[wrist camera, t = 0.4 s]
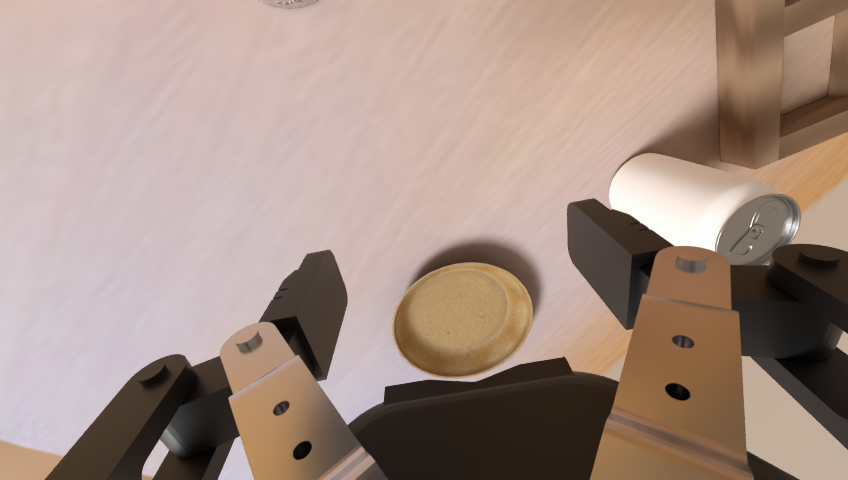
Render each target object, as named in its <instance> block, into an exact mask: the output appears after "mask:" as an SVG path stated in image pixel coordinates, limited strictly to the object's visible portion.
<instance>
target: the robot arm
mask: <svg viewBox="0 0 848 480" xmlns="http://www.w3.org/2000/svg"><path fill="white" fill-rule="evenodd" d="M259 1H262V2H264V3H267V4H269V5H272V6H275V7H281V8H287V9H289V8H301V7H304V6H307V5H310V4H313V3H315V2H317V1H318V0H259ZM567 230H568V251H569V255H570V258H571V260H572V262H573V264H574V265H575V266H576V268H577V269H578V270H579V271H580V273H581V274H582V275H583V276H584V278H585V279H586V280H587V281H588V283H589V284H590V285H591V286H592V288H593V289H594V290H595V291H596V293H597V294H598V295H599V296H600V298H601V299H602V300H603V302H604V303H605V304H606V305H607V307H608V308H609V309H610V310H611V312H612V313H613V314H614V315H615V317H616V318H617V319H618V320H619V322H620V323H621V324H622V325H623V327H624V328H625V329H626V330H629V329H633V332H632V335H631V339H630V343H629V347H628V351H627V354H626V358H625V362H624V366H623V370H622V373H621V377H620V381H619V382H618V381H615V380H613V379H610V378H607V377H604V376H600V375H596V374H591V373H585V372H576V371H572V369H571V367H570V366H569V364H568V362H567V360H566V358H565V357H562V358H556V359H550V360H544V361H538V362H532V363H526V364H520V365H517V366H515V367H512V368H510V369H507V370H505V371H502V372H500V373H497V374H495V375H492V376H490V377H487V378H485V379H482V380H480V381H476V382H461V381H443V380H423V381H417V382H411V383H405V384H399V385H393V386H387V387H385V394H384V402H383V403H380V404H378V405H376V406H374V407H372V408H370V409H369V410H367V411H365V412H364V413H362V414H361V415H359V416H358V417H357V418H356V419H354V420H353V421H352V422H351V423H350V424H349V425H348V426H347V424H346V423H345V421H344V420H343V418H342V417H341V416H340V414H339V413H338V411H337V410H336V408H335V407H334V405H333V404H332V403H331V401H330V400H329V398H328V397H327V395H326V394H325V393H324V391H323V390H322V388H321V387H320V385H319V384H318V382H317V381H321V380H326V379H327V375H328V371H329V368H330V364H331V361H332V357H333V354H334V350H335V346H336V343H337V339H338V336H339V332H340V328H341V325H342V321H343V318H344V314H345V311H346V307H347V300H348V299H347V291H346V287H345V284H344V282H343V279H342V276H341V274H340V271H339V268H338V265H337V263H336V260H335V257H334V255H333V253H332V252H331V251H330V250H325V251H320V252H315V253H310V254H307V255H306V257H305V258H304V260H303V262H302V264H301V266H300V267H299V269H298V270H295V271H294V272H293V273H291V274H290V275H289V276H288V277H287V278H286V279H285V280H284V281H283V282H282V284H281V286H280V287H279V289H278V292H276V294H275V296H274V297H273V300H272V301H271V302H270V304H269V306H268V307H267V309H266V311H265V312H264V314H263V316H262V317H261V319H260V321H259V322H258V323H255V324H252V325H250V326H247V327H245V328H243V329H241V330H240V331H238V332H236V333H235V334H234V335H232V336H231V337H230V338H229V339H228V340H227V341H226V342H225V343H224V345H223V346H222V348H221V350H220V356H218V357H216V358H213V359H211V360H208V361H206V362H203V363H200V364H198V365H195V366H193V367H192V366H191V364H190V363H189V362H188V360H187V359H186V357H185V356H183V355H180V354H175V355H169V356H166V357H163V358H161V359H158V360H156V361H154V362H152V363H150V364H149V365H147V366H146V367H144V368H143V369H141V370H140V371H139V372H137V373H136V374H135V375H134V376H133V377H132V378H131V379H130V380H129V381H128V382H127V383H126V384H125V385H124V386H123V388H122V389H121V390H120V391H119V392H118V394H117V395H116V396H115V397H114V398H113V399H112V401H111V402H110V403H109V404H108V405H107V407H106V408H105V409H104V410H103V411H102V412H101V414H100V415H99V416H98V417H97V418H96V420H95V421H94V422H93V423H92V424H91V425H90V427H89V428H88V429H87V430H86V431H85V433H84V434H83V435H82V436H81V437H80V438H79V440H78V441H77V442H76V443H75V444H74V446H73V447H72V448H71V449H70V450H69V452H68V453H67V454H66V455H65V456H64V457H63V459H62V460H61V461H60V462H59V464H58V465H57V466H56V467H55V468H54V469H53V471H52V472H51V473H50V474H49V475H48V476H47V478H46V479H45V480H142V478H141V477H142V469H143V466H144V464H145V461H146V460H147V458H148V456H149V455H150V453H151V452H152V450H153V448H154V447H155V445H156V444H157V442H158V440H159V439H160V440H161V441H162V442H163V443H164V444H165V446H166V447H167V448H168V449H169V452H168V454H167V455H166V457H165V459H164V461H163V462H162V464H161V466H160V467H159V469H158V471H157V473H156V474H155V476H154V478H153V479H152V480H218V477H219V475H220V473H221V470H222V468H223V465H224V463H225V461H226V458H227V456H228V454H229V451H230V449H231V447H232V444H233V442H234V439H235V438H237V437H239V436H240V437H241V440H242V443H243V446H244V449H245V452H246V455H247V458H248V462H249V465H250V468H251V471H252V474H253V477H254V480H799V479H797V478H795V477H794V476H792V475H790V474H788V473H786V472H785V471H783V470H780V469H779V468H777V467H775V466H774V465H772V464H770V463H768V462H766V461H764V460H763V459H761V458H759V457H757V456H755V455H753V454H752V453H750V452H748V451H746V434H745V415H744V398H743V397H744V396H743V379H742V359H741V356H751V358H752V359H753V360H754V361H755V362H756V363H757V364H758V365H759V366H761V368H762V369H764V370H765V371H766V372H767V373H768V374H769V375H770V376H771V377H772V378H773V379H774V380H775V381H776V382H777V383H778V384H779V385H780V386H781V387H782V388H784V389H785V390H786V391H787V392H788V393H789V394H790V395H791V396H792V397H793V398H794V399H795V400H796V401H797V402H798V403H799V404H800V405H802V407H803V408H805V409H806V410H807V411H808V412H809V413H810V414H811V415H812V416H813V417H814V418H815V419H816V420H817V421H818V422H819V423H820V424H821V425H822V426H823V427H824V428H826V429H827V430H828V431H829V432H830V433H831V434H832V435H833V436H834V437H835V438H836V439H837V440H838V441H839V442H840V443H841V444H842V445H843V446H844V447H845V448H846V449H848V355H847V354H846V353H844V352H843V351H841V350H840V349H839V348H837V347H836V346H837V344H838V341H839V339H840V337H841V335H842V332H843V331H845V332H846V333H847V334H848V252H846V251H843V250H840V249H836V248H832V247H827V246H821V245H812V244H790V245H784V246H781V247H778V248H776V249H775V250H774V251H773V253H772V256H771V259H770V263H769V265H730V263H729V261H728V260H727V259H726V258H725V257H724V256H722V255H721V254H719V253H717V252H715V251H712V250H709V249H706V248H701V247H695V246H674V245H673V244H671V243H670V242H668V241H667V240H666V239H664V238H663V237H661V236H660V235H658V234H657V233H656V232H654V231H653V230H649V228H648V227H647V226H646V225H644V224H643V223H640V221H638V220H637V219H635V218H634V217H633V216H631V215H630V214H627V213H624V212H621V211H617V210H614V209H613V210H610V209H608V208H607V207H606V206H604V205H603V204H602V203H600V202H599V201H597V200H596V199H594V198H592V199H587V200H582V201H577V202H572V203H569V205H568V208H567Z"/></svg>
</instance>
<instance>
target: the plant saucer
mask: <svg viewBox="0 0 848 480" xmlns="http://www.w3.org/2000/svg"><path fill="white" fill-rule="evenodd" d="M532 321H533V306H532V301H531V298H530V295H529V293H528V291H527V289H526V288H525V286H524V285H523V284H522V282H520V280H519V279H518V278H516V277H515V276H514V275H513V274H511V273H510V272H508V271H506V270H504V269H502V268H500V267H497V266H494V265H491V264H486V263H480V262H464V263H456V264H452V265H448V266H445V267H442V268H439V269H437V270H434V271H432V272H430V273H428V274H426V275H425V276H423V277H422V278H420V279H419V280H418V281H416V282H415V283H414V284H413V285H412V286H411V287H410V288H409V289H408V290H407V291H406V292H405V294H404V295H403V296H402V298H401V299H400V301H399V303H398V305H397V307H396V309H395V312H394V315H393V319H392V336H393V340H394V343H395V346H396V348H397V350H398V352H399V353H400V355H401V356H402V358H403V359H404V360H405V361H407V363H409V364H410V365H411V366H412V367H414V368H416V369H417V370H419V371H421V372H423V373H425V374H428V375H432V376H435V377H439V378H447V379H450V378H451V379H458V378H467V377H472V376H476V375H480V374H483V373H485V372H488V371H490V370H493V369H495V368H496V367H498V366H500V365H502V364H503V363H504V362H506V361H507V360H508V359H510V358H511V357H512V356H513V355H514V354H515V353H516V352H517V351H518V350H519V349H520V347H521V346H522V345H523V343H524V341H525V340H526V338H527V336H528V334H529V332H530V329H531V325H532Z"/></svg>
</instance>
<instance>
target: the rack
mask: <svg viewBox="0 0 848 480" xmlns="http://www.w3.org/2000/svg"><path fill="white" fill-rule="evenodd" d="M715 11H716V41H717V70H718V99H719V128H720V158H721V161H722V162H726V163H730V164H734V165H739V166H743V167H747V168H751V169H755V170H756V169H758V168H761V167H763V166H765V165H768V164H770V163H773V162H775V161H778V160H780V159H783V158H785V157H787V156H790V155H792V154H795V153H797V152H800V151H802V150H804V149H807V148H809V147H812V146H814V145H817V144H819V143H822V142H824V141H826V140H829V139H831V138H834V137H836V136H839V135H841V134H843V133H846V132H848V0H715ZM835 14H836V17H835V27H834V37H833V48H832V58H831V68H830V78H829V89H828V96H827V97H825V98H823V99H820V100H818V101H815V102H813V103H811V104H808V105H806V106H803V107H801V108H799V109H796V110H794V111H792V112H789V113H787V114H784V115H782V116H780V112H781V88H782V64H783V40H784V37H785V36H787V35H790V34H792V33H794V32H796V31H799V30H801V29H803V28H806V27H808V26H810V25H812V24H815V23H817V22H819V21H822V20H824V19H826V18H828V17H831V16H833V15H835Z"/></svg>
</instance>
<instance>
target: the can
mask: <svg viewBox="0 0 848 480" xmlns="http://www.w3.org/2000/svg"><path fill="white" fill-rule="evenodd" d="M609 200H610V204H611V206H612V208H613V209H614V210H617V211H621V212H624V213H627V214H630V215H631V216H633V217H634V218H635V219H637V220H638V221H640V223H643V224H644V225H646V226H647V227H648V228H649V230H653V231H654V232H656V233H657V234H658V235H660V236H661V237H663V238H664V239H666V240H667V241H668V242H670V243H671V244H673V245H674V246H695V247H701V248H706V249H709V250H712V251H715V252H717V253H719V254H721V255H722V256H724V257H725V258H726V259H727V260H728V261H729V263H730V265H766V264H768V263H770V259H771V256H772V253H773V251H774V250H775V249H776V248H778V247H781V246H784V245H790V243H791V242H792V240H793V239H794V237H795V235H796V233H797V231H798V228H799V225H800V221H801V212H800V208H799V206H798V204H797V202H796V201H795V200H794V199H793V198H791V197H789V196H787V195H784V194H781V193H780V192H779V191H778V190H777V189H776V188H775V187H773V186H772V185H770V184H767V183H765V182H762V181H759V180H755V179H752V178H748V177H745V176H741V175H737V174H734V173H730V172H726V171H723V170H719V169H715V168H711V167H708V166H704V165H700V164H696V163H692V162H689V161H685V160H681V159H677V158H673V157H670V156H666V155H661V154H656V153H645V154H641V155H638V156H636V157H634V158H632V159H630V160H629V161H628V162H626V163H625V164H624V165H623V166H622V167H621V168H620V169H619V170H618V171H617V173H616V174H615V176H614V178H613V180H612V182H611V185H610V190H609Z"/></svg>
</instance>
